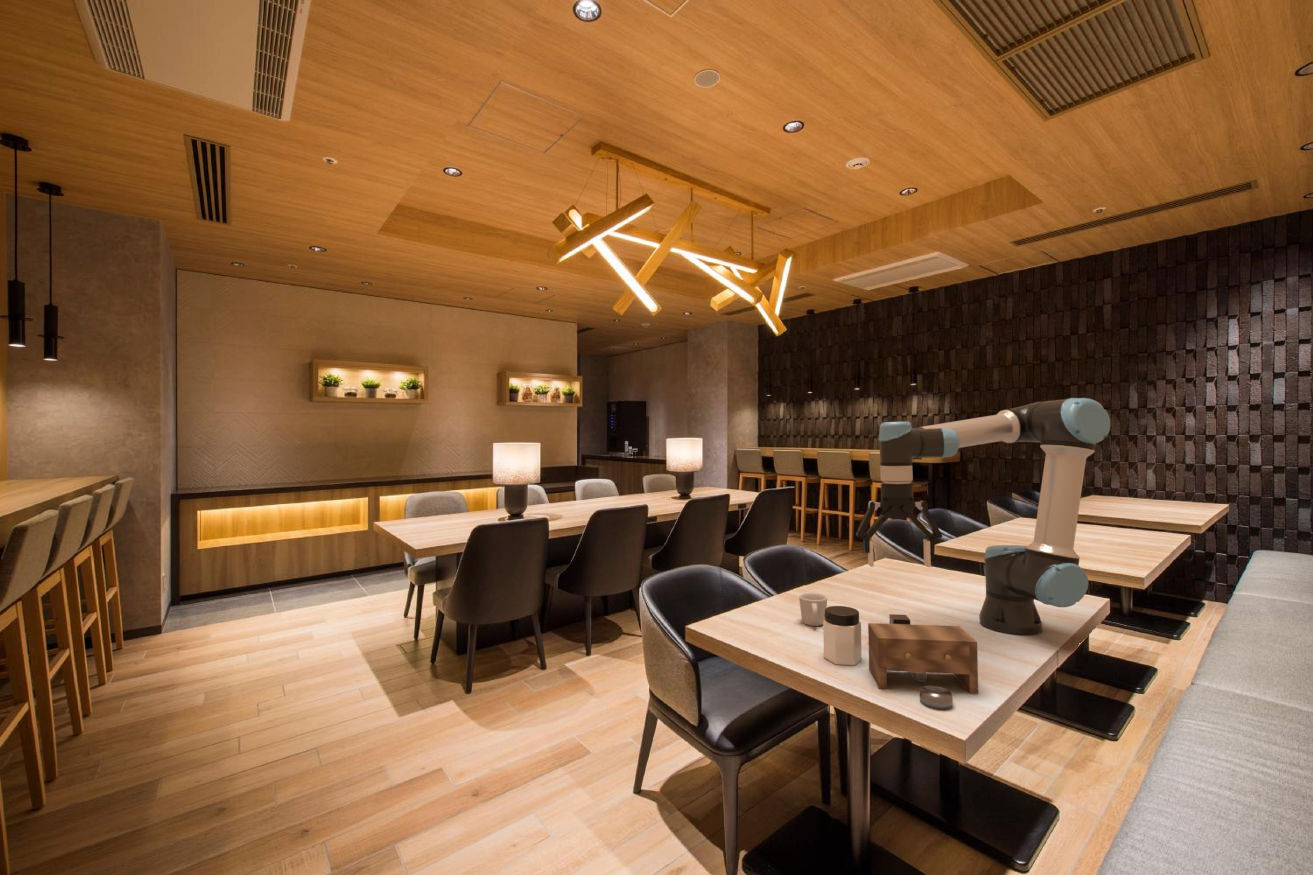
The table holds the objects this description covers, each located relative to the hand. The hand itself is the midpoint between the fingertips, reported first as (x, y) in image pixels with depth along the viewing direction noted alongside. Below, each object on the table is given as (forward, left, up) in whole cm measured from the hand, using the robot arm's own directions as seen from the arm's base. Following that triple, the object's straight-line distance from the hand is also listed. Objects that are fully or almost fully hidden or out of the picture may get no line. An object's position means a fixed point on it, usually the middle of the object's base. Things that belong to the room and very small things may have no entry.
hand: (898, 565), depth 141 cm
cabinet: (0, +17, -22) cm, 28 cm away
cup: (+19, -19, -22) cm, 35 cm away
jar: (+15, +6, -22) cm, 28 cm away
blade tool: (0, +8, -22) cm, 23 cm away
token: (0, +28, -22) cm, 35 cm away
